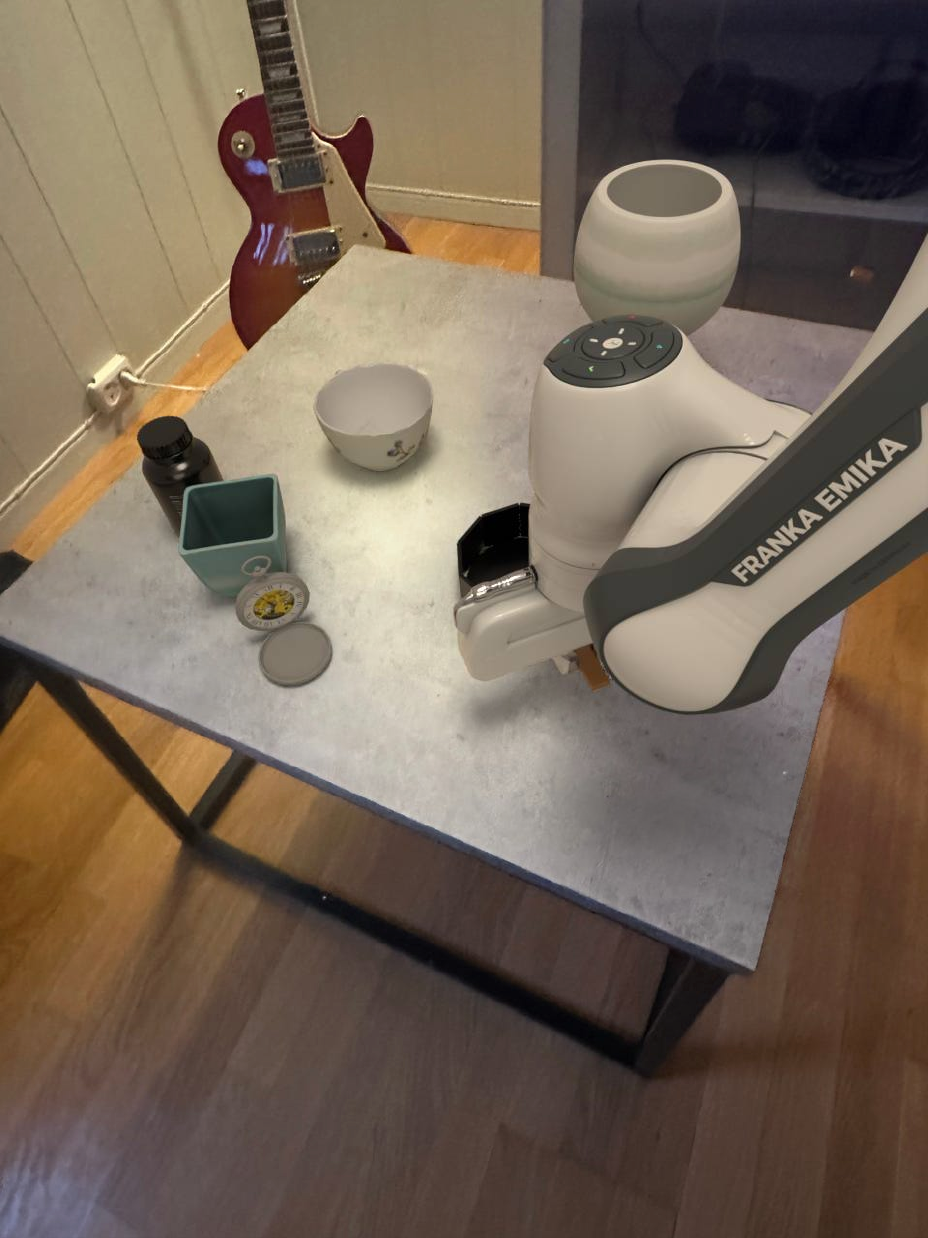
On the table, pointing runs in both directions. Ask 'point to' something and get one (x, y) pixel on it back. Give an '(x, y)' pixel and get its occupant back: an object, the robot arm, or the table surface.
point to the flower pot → (233, 531)
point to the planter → (658, 244)
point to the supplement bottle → (174, 463)
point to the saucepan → (510, 566)
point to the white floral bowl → (375, 413)
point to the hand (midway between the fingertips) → (582, 659)
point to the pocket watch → (283, 626)
